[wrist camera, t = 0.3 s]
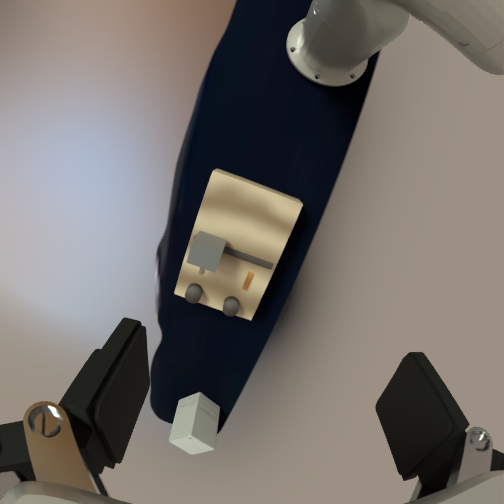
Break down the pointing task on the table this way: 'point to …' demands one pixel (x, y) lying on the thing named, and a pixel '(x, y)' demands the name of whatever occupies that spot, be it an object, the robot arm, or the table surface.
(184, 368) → the table surface
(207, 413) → the supplement box
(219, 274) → the fader console
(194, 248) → the fader tab
